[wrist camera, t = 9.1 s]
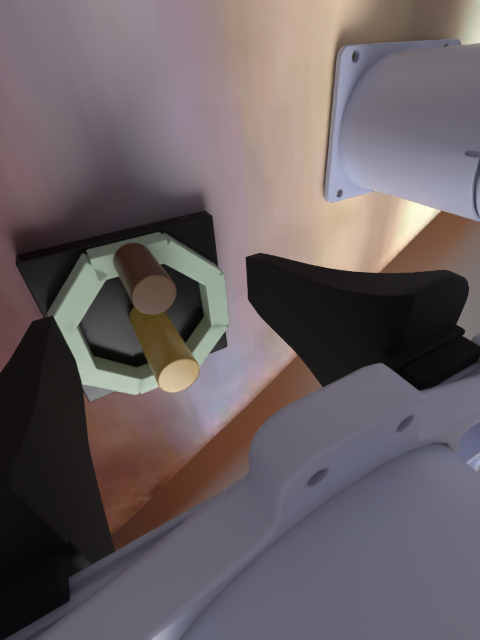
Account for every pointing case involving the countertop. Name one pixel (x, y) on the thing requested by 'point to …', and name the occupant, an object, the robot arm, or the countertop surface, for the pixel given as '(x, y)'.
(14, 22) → the countertop surface
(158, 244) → the ring
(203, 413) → the countertop surface
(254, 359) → the countertop surface
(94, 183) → the countertop surface
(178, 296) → the peg stand
